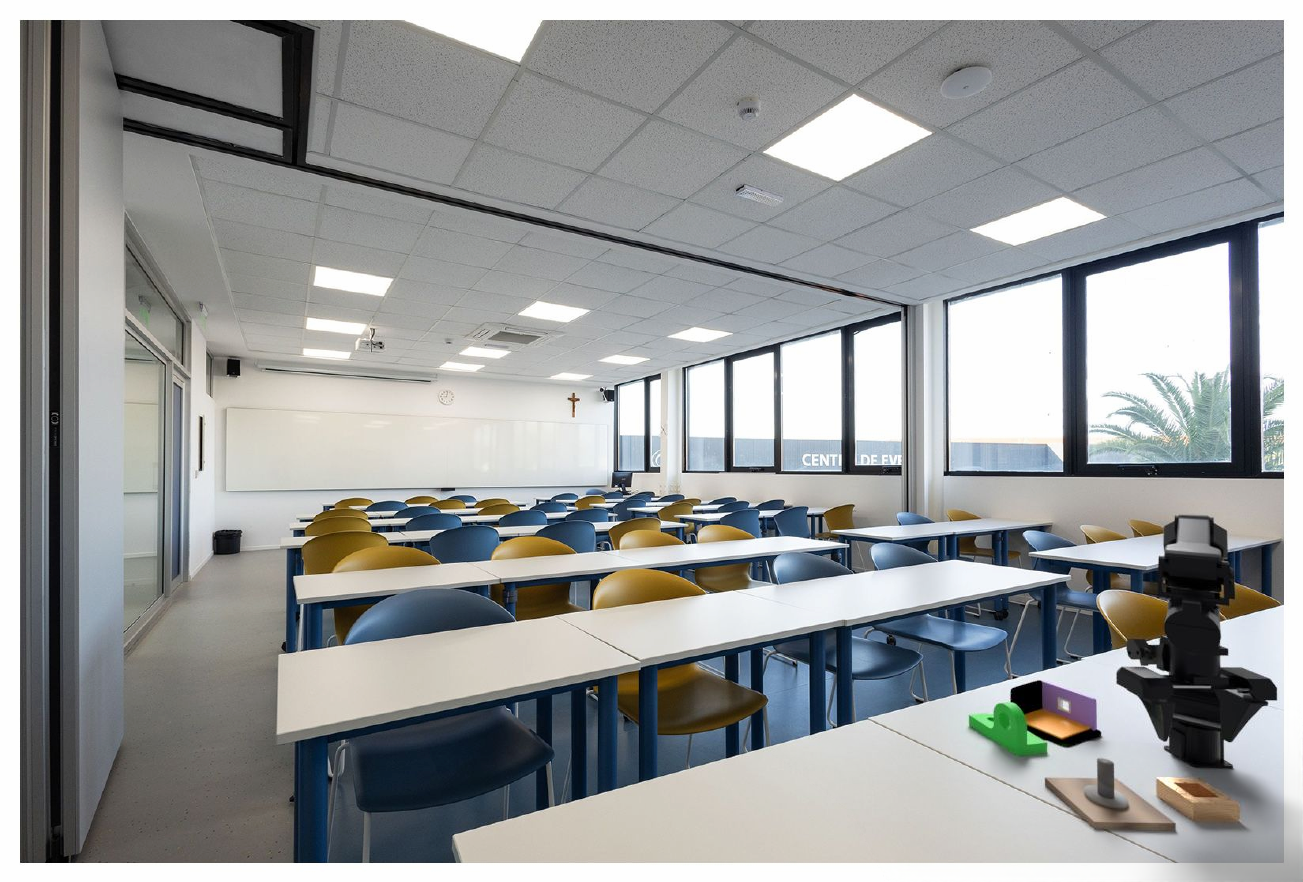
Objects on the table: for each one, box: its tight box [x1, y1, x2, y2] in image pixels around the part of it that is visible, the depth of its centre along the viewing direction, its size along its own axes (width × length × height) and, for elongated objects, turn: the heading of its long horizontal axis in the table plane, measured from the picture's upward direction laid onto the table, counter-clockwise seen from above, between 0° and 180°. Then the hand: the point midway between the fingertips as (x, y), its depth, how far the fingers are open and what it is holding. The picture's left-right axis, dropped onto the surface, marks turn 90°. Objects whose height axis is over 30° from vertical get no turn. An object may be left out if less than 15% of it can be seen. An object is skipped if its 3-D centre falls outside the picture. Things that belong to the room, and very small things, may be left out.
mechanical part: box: [968, 701, 1048, 757], centre depth 109 cm, size 12×6×8 cm, turn 10°
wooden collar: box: [1155, 777, 1241, 823], centre depth 87 cm, size 6×6×3 cm
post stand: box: [1044, 757, 1177, 831], centre depth 88 cm, size 11×11×7 cm
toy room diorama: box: [1009, 679, 1102, 748], centre depth 113 cm, size 12×12×7 cm
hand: (1194, 740), depth 87 cm, fingers open, 9 cm apart
